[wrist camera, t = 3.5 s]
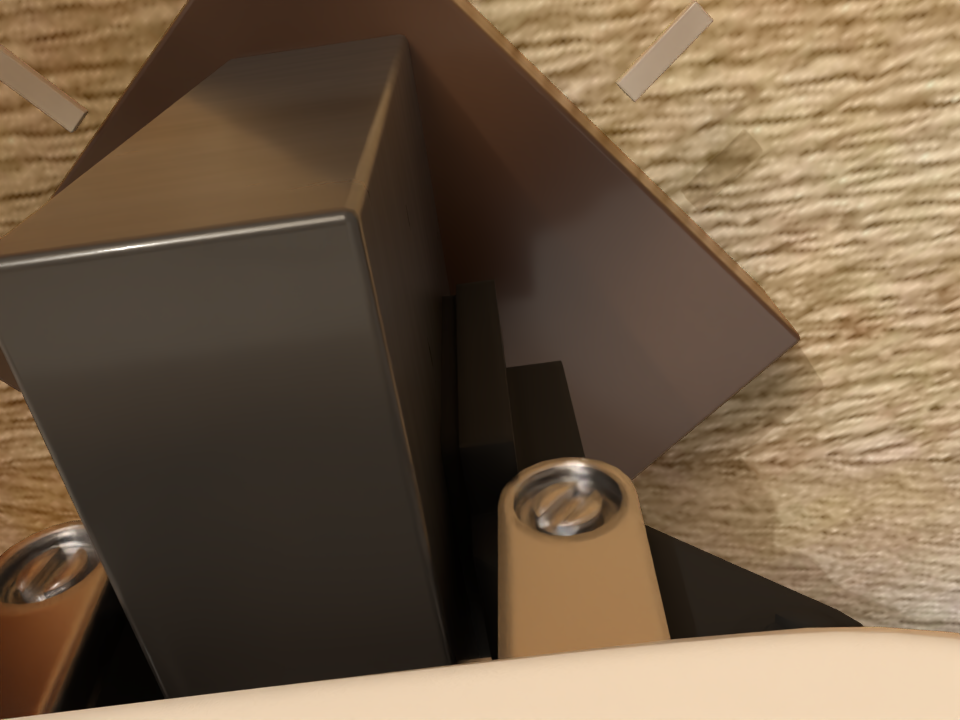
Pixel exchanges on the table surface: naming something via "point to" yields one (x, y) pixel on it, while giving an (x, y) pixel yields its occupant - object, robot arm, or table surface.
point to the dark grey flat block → (254, 374)
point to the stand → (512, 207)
